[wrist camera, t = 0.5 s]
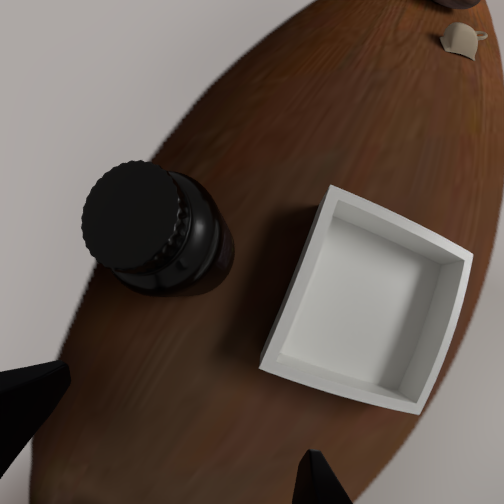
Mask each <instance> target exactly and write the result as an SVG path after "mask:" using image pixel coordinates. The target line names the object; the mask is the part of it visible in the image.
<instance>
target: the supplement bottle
mask: <svg viewBox="0 0 504 504" xmlns="http://www.w3.org/2000/svg"><path fill="white" fill-rule="evenodd" d="M81 219H82V226H81V229H82V231H83V239H84V240H85V243H86V247H87V248H88V249H89V251H90V254H91V255H92V256H93V257H95V258H96V260H97V262H98V263H101V264H103V265H104V266H105V267H106V268H108V269H110V270H111V271H112V273H113V274H114V276H115V277H116V278H117V279H118V280H119V281H120V282H121V283H122V284H123V285H124V286H126V287H127V288H129V289H130V290H132V291H134V292H137V293H139V294H142V295H146V296H152V297H175V296H194V295H200V294H204V293H207V292H209V291H211V290H213V289H214V288H216V287H217V286H219V285H220V284H221V283H222V282H223V281H224V280H225V278H226V277H227V275H228V274H229V272H230V270H231V268H232V265H233V261H234V255H235V248H234V241H233V237H232V234H231V232H230V230H229V228H228V226H227V224H226V222H225V220H224V218H223V216H222V214H221V213H220V211H219V209H218V207H217V205H216V203H215V201H214V200H213V198H212V196H211V195H210V194H209V192H208V191H207V190H206V189H205V188H204V187H203V186H202V185H201V184H200V183H199V182H198V181H196V180H195V179H193V178H191V177H189V176H187V175H185V174H182V173H178V172H173V171H166V170H163V169H162V168H161V166H159V165H154V164H153V163H152V162H144V161H142V160H139V161H129V162H128V163H122V164H120V165H119V166H116V167H113V168H112V169H111V170H110V171H109V172H106V173H105V174H104V175H103V177H102V178H100V179H99V180H98V181H97V183H96V185H95V186H93V187H92V189H91V191H90V194H89V195H88V197H87V198H86V203H85V205H84V207H83V215H82V218H81Z"/></svg>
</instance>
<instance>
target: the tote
mask: <svg viewBox="0 0 504 504" xmlns="http://www.w3.org/2000/svg"><path fill="white" fill-rule="evenodd" d="M472 259H473V254H472V253H470V252H469V251H467V250H465V249H463V248H462V247H460V246H458V245H456V244H455V243H453V242H451V241H449V240H447V239H445V238H444V237H442V236H440V235H438V234H436V233H434V232H432V231H430V230H428V229H427V228H425V227H423V226H421V225H419V224H417V223H415V222H413V221H411V220H409V219H407V218H405V217H403V216H400V215H398V214H396V213H394V212H392V211H390V210H388V209H386V208H383V207H381V206H379V205H377V204H375V203H372V202H370V201H368V200H366V199H363V198H361V197H359V196H357V195H354V194H352V193H350V192H347V191H345V190H342V189H340V188H338V187H335V186H333V185H330V186H329V188H328V190H327V192H326V193H325V195H324V197H323V199H322V200H321V202H320V204H319V206H318V209H317V212H316V215H315V218H314V220H313V223H312V226H311V229H310V231H309V234H308V237H307V239H306V242H305V245H304V247H303V250H302V253H301V255H300V258H299V261H298V263H297V266H296V268H295V271H294V274H293V276H292V279H291V281H290V284H289V286H288V289H287V291H286V294H285V296H284V299H283V301H282V304H281V306H280V309H279V311H278V314H277V316H276V319H275V321H274V323H273V326H272V328H271V331H270V333H269V335H268V338H267V340H266V342H265V345H264V347H263V349H262V352H261V355H260V363H259V369H261V370H264V371H267V372H269V373H272V374H275V375H277V376H280V377H283V378H286V379H289V380H292V381H295V382H298V383H301V384H304V385H307V386H310V387H313V388H316V389H319V390H322V391H326V392H329V393H332V394H336V395H339V396H342V397H346V398H350V399H353V400H357V401H361V402H364V403H368V404H372V405H376V406H381V407H385V408H389V409H394V410H398V411H403V412H408V413H413V414H418V415H419V414H420V412H421V411H422V409H423V407H424V405H425V402H426V400H427V398H428V396H429V394H430V392H431V390H432V387H433V385H434V383H435V381H436V378H437V376H438V374H439V371H440V369H441V366H442V364H443V361H444V359H445V356H446V353H447V351H448V348H449V345H450V342H451V339H452V336H453V333H454V330H455V327H456V324H457V321H458V317H459V314H460V310H461V307H462V303H463V299H464V295H465V291H466V287H467V283H468V279H469V274H470V269H471V264H472Z"/></svg>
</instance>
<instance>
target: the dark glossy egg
mask: <svg viewBox="0 0 504 504" xmlns="http://www.w3.org/2000/svg"><path fill="white" fill-rule="evenodd" d="M433 1H435V2H437V3H439V4H441V5H443V6H446V7H449V8H453V9H468V8H471V7H473V6H475V5H476V4H478V3H479V2H480V0H433Z"/></svg>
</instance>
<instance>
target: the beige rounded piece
mask: <svg viewBox="0 0 504 504" xmlns="http://www.w3.org/2000/svg"><path fill="white" fill-rule="evenodd" d="M476 34H484V36H477V35H476ZM486 38H487V34H486V33H485V32H482V31H474V30H473V29H472V28H471V27H470V26H468V25H466V24H463V23H459V22H456V23H452V24H451V25H449V26H448V27H447V28H446V29H445V33H444V36H443V37H440V40H441V43H442V45H443V47H444V49H445V51H447V52H454V53H458V54H462V55H465V56H467V57H469V58H471V59H472V60H474V61H475V58H474V56H475V53H476V51H477V46H478V40H483V39H486Z"/></svg>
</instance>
